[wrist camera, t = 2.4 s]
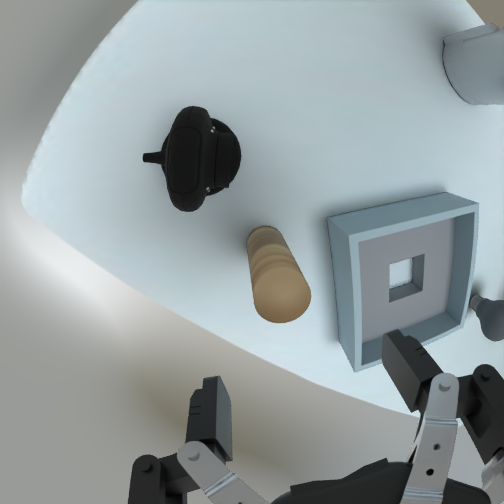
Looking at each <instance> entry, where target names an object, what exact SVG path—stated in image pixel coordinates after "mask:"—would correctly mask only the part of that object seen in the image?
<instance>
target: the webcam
mask: <svg viewBox="0 0 504 504" xmlns="http://www.w3.org/2000/svg"><path fill="white" fill-rule="evenodd" d="M240 161H241V149H240V145H239V142H238V140H237V137H236V136H235V135H234V133H233V132H232V131H231V130H230V128H229V127H228V126H227V125H225V124H224V123H222V122H221V121H219V120H216V119H213V118H210V116H209V114H208V112H207V110H205V109H204V108H201V107H196V106H190V107H186V108H184V109H182V110H181V111H180V112H179V113H178V115H177V117H176V119H175V121H174V123H173V125H172V128H171V130H170V133H169V134H168V136H167V137H166V139H165V141H164V143H163V146H162V149H161V151H160V152H154V153H144V154H143V162H149V163H157V164H161V166H162V170H163V172H164V174H165V177H166V182H167V189H168V192H169V195H170V199H171V201H172V203H173V205H174V206H175V207H176V208H178V209H179V210H180V211H185V212H192V211H195V210H197V209H198V208H199V207H200V206H201V205H202V204H203V201H204V199H205V197H206V196H209V195H212V194H215V193H217V192H219V191H221V190H222V189H224V188H229V183H230V182H231V181H232V180H233V179H234V177H235V175H236V174H237V171H238V169H239V166H240Z"/></svg>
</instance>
